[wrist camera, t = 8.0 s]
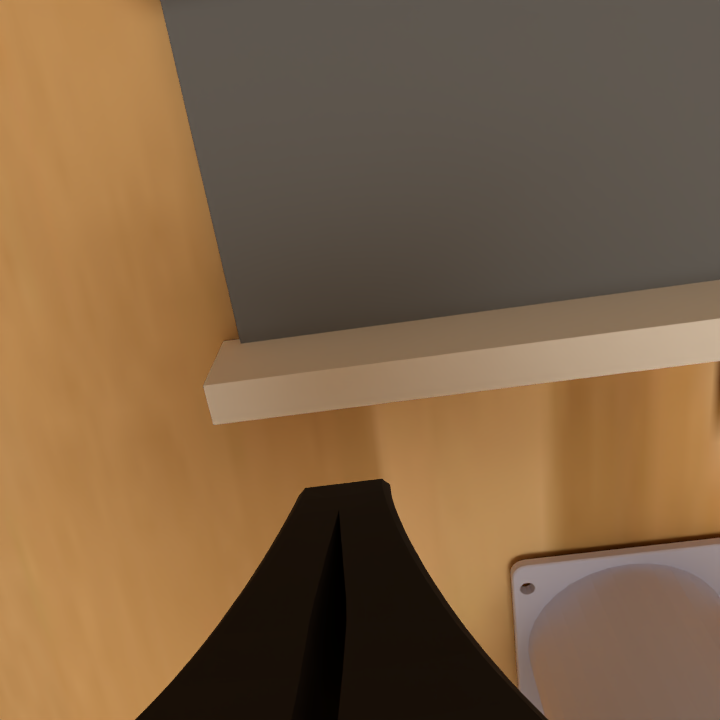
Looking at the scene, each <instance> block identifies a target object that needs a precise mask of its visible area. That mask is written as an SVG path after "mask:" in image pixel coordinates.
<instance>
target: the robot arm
mask: <svg viewBox="0 0 720 720" xmlns="http://www.w3.org/2000/svg"><path fill="white" fill-rule="evenodd" d="M510 574H511V589H512V604H513V619H514V634H515V649H516V664H517V679H518V688H517V687H516V686H515V685H514V684H513V683H512V682H511V681H510V680H509V679H508V678H507V677H506V676H505V674H504V673H503V672H502V671H501V670H500V669H499V667H498V666H497V665H496V664H495V663H494V662H493V661H492V659H491V658H490V657H489V656H488V655H487V654H486V652H485V651H484V650H483V649H482V647H481V646H480V645H479V644H478V643H477V641H476V640H475V639H474V638H473V636H472V635H471V634H470V633H469V631H468V630H467V629H466V627H465V626H464V625H463V623H462V622H461V621H460V619H459V618H458V617H457V615H456V614H455V612H454V611H453V610H452V608H451V607H450V605H449V604H448V603H447V601H446V600H445V598H444V597H443V595H442V594H441V592H440V591H439V589H438V588H437V586H436V585H435V583H434V582H433V580H432V578H431V577H430V575H429V573H428V572H427V570H426V569H425V567H424V565H423V563H422V562H421V560H420V558H419V556H418V554H417V553H416V551H415V549H414V547H413V545H412V544H411V542H410V540H409V538H408V536H407V534H406V532H405V530H404V528H403V525H402V523H401V521H400V519H399V516H398V514H397V511H396V509H395V506H394V503H393V500H392V495H391V489H390V484H389V483H387V482H386V481H384V480H383V479H376V480H368V481H360V482H352V483H343V484H335V485H327V486H319V487H310V488H305V489H304V490H303V491H302V493H301V494H300V495H299V497H298V499H297V501H296V503H295V505H294V506H293V508H292V510H291V512H290V514H289V516H288V518H287V519H286V521H285V523H284V525H283V527H282V528H281V530H280V532H279V534H278V535H277V537H276V539H275V540H274V542H273V544H272V546H271V547H270V549H269V550H268V552H267V554H266V555H265V557H264V558H263V560H262V562H261V563H260V565H259V566H258V568H257V569H256V571H255V573H254V574H253V576H252V577H251V579H250V580H249V582H248V583H247V585H246V586H245V588H244V589H243V591H242V592H241V594H240V595H239V596H238V598H237V599H236V601H235V602H234V603H233V605H232V606H231V608H230V609H229V610H228V612H227V613H226V615H225V616H224V617H223V619H222V620H221V622H220V623H219V624H218V626H217V627H216V628H215V630H214V631H213V632H212V633H211V635H210V636H209V637H208V639H207V640H206V641H205V642H204V644H203V645H202V646H201V647H200V649H199V650H198V651H197V652H196V654H195V655H194V656H193V657H192V658H191V660H190V661H189V662H188V663H187V664H186V665H185V667H184V668H183V669H182V670H181V671H180V672H179V674H178V675H177V676H176V677H175V678H174V679H173V681H172V682H171V683H170V684H169V685H168V686H167V687H166V688H165V689H164V690H163V691H162V693H161V694H160V695H159V696H158V697H157V698H156V699H155V700H154V701H153V702H152V703H151V704H150V705H149V706H148V707H147V708H146V709H145V710H144V711H143V712H142V713H141V714H140V715H139V716H138V717H137V718H136V719H135V720H720V538H712V539H703V540H694V541H685V542H676V543H668V544H659V545H650V546H641V547H632V548H623V549H614V550H605V551H597V552H588V553H579V554H570V555H561V556H552V557H543V558H534V559H526V560H521V561H518V562H517V563H515V564H514V565H513V566H512V568H511V572H510ZM525 583H531V584H530V585H528V586H522V585H523V584H525Z"/></svg>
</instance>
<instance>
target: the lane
mask: <svg viewBox="0 0 720 720" xmlns="http://www.w3.org/2000/svg"><path fill="white" fill-rule="evenodd" d="M160 1H161V5H162V9H163V14H164V18H165V22H166V27H167V31H168V35H169V39H170V44H171V48H172V52H173V56H174V61H175V65H176V69H177V74H178V78H179V82H180V86H181V91H182V95H183V99H184V103H185V108H186V112H187V116H188V121H189V125H190V129H191V133H192V138H193V142H194V146H195V150H196V155H197V159H198V163H199V168H200V172H201V176H202V180H203V185H204V189H205V193H206V197H207V202H208V206H209V210H210V215H211V219H212V223H213V227H214V232H215V236H216V240H217V244H218V249H219V253H220V257H221V262H222V266H223V270H224V274H225V279H226V283H227V287H228V291H229V296H230V300H231V304H232V309H233V313H234V317H235V321H236V326H237V330H238V334H239V338H240V339H235V340H228V341H223V343H222V345H221V347H220V350H219V352H218V354H217V356H216V358H215V361H214V363H213V365H212V367H211V369H210V372H209V374H208V376H207V378H206V380H205V383H204V385H203V388H204V391H205V395H206V399H207V403H208V406H209V410H210V414H211V418H212V421H213V425H218V424H226V423H234V422H242V421H250V420H258V419H266V418H273V417H281V416H289V415H297V414H305V413H313V412H321V411H329V410H337V409H344V408H352V407H360V406H368V405H376V404H384V403H392V402H400V401H407V400H415V399H423V398H431V397H439V396H447V395H455V394H463V393H470V392H478V391H486V390H494V389H502V388H510V387H518V386H526V385H533V384H541V383H549V382H557V381H565V380H573V379H581V378H589V377H596V376H604V375H612V374H620V373H628V372H636V371H644V370H652V369H659V368H667V367H675V366H683V365H691V364H699V363H707V362H715V361H720V0H160Z"/></svg>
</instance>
